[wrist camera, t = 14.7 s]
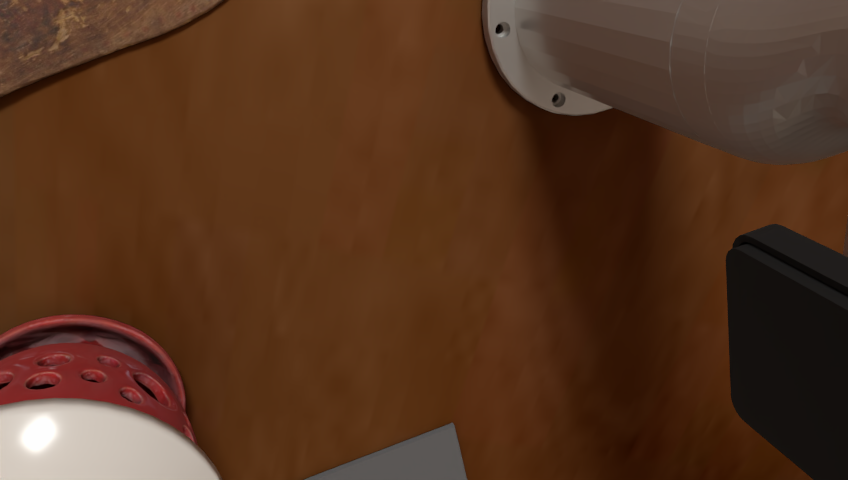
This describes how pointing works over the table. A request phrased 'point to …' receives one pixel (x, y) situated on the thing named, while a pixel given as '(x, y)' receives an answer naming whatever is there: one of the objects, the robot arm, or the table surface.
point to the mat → (407, 460)
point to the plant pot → (92, 366)
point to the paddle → (79, 32)
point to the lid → (94, 443)
